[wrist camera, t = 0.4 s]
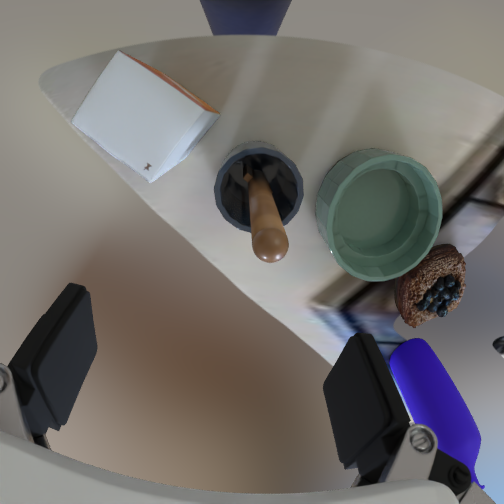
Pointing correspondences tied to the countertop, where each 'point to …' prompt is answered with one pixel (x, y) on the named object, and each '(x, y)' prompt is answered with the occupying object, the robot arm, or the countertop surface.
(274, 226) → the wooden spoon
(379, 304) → the countertop surface
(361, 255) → the bowl
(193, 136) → the small box
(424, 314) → the pastry
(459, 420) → the bottle
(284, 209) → the crock
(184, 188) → the countertop surface
